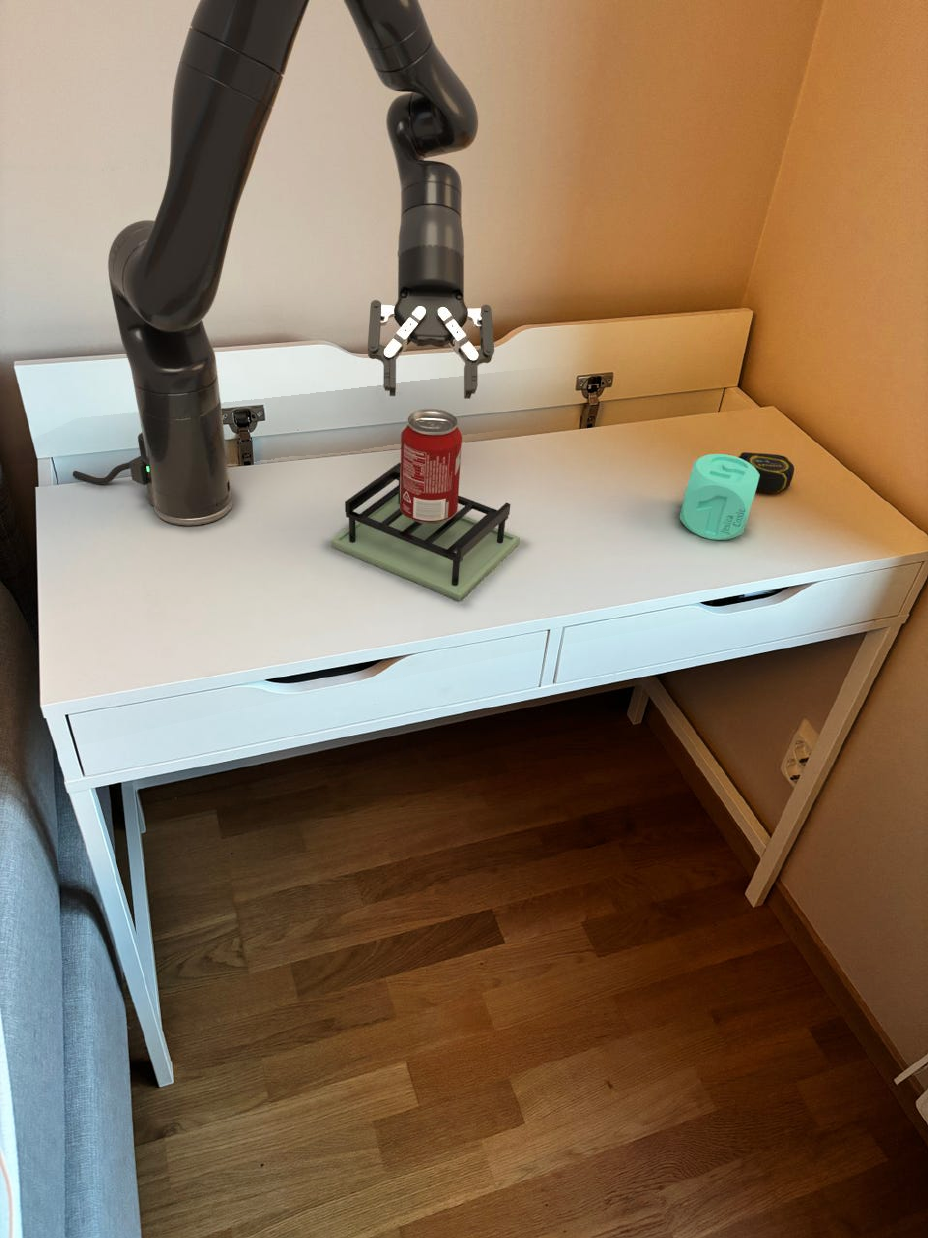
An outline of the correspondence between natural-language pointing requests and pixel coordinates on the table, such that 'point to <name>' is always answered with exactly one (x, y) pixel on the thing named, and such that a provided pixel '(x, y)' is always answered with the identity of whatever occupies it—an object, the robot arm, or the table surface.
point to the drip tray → (426, 552)
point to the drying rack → (459, 546)
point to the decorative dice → (719, 496)
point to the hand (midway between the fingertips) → (430, 395)
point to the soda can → (430, 466)
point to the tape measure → (770, 471)
